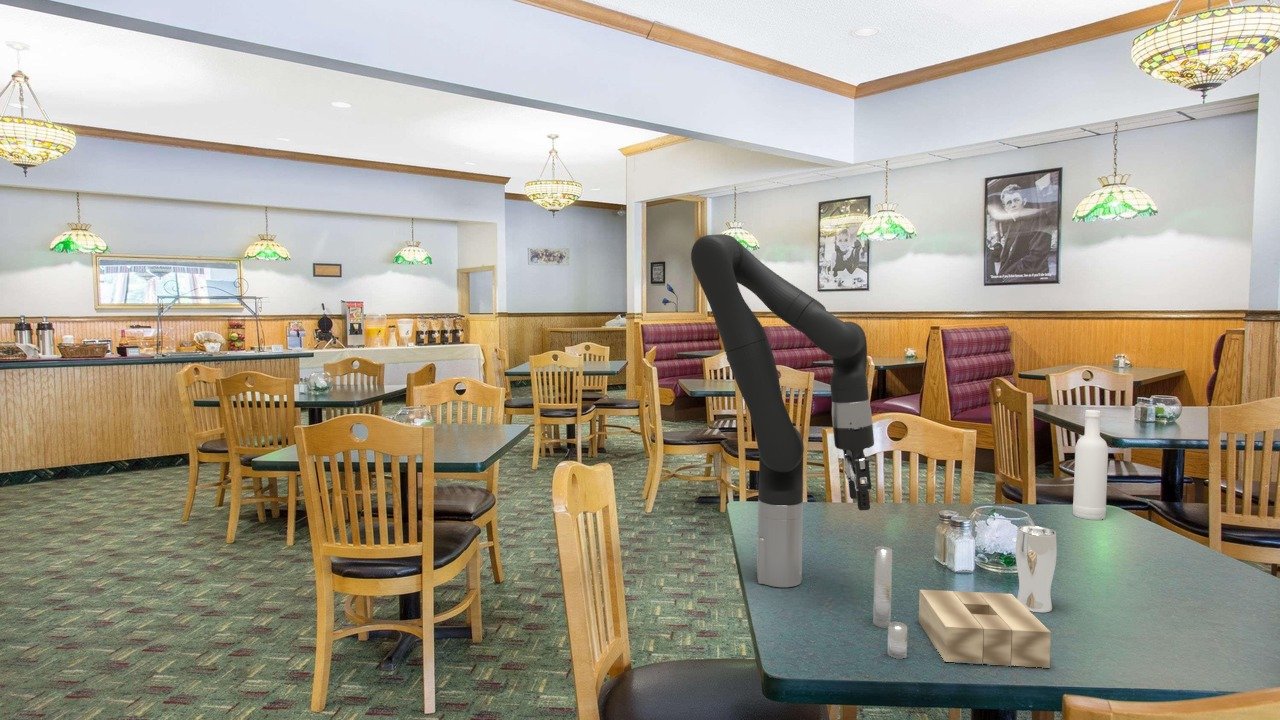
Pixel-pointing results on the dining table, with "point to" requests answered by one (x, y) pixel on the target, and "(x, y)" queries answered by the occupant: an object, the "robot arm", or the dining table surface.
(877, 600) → the long steel pin
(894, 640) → the short steel pin
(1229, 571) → the dining table surface
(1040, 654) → the oak hole block
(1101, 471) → the bottle
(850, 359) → the robot arm
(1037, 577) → the beer glass
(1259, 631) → the dining table surface
